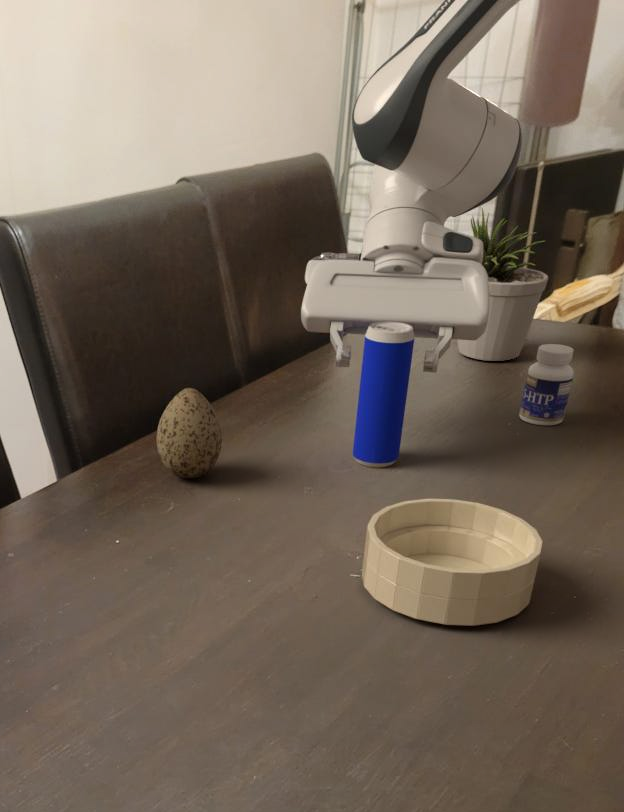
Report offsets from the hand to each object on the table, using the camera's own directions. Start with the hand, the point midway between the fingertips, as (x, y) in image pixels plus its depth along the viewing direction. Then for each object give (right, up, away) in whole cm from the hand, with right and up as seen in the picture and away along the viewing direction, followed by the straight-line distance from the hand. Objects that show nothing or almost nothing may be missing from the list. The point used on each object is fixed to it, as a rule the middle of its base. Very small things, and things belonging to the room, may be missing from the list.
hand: (385, 367), depth 105 cm
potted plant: (+25, +13, +39) cm, 49 cm away
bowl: (0, -26, -21) cm, 33 cm away
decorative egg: (-22, -12, +2) cm, 25 cm away
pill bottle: (+23, -2, +15) cm, 28 cm away
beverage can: (0, -10, +5) cm, 11 cm away
